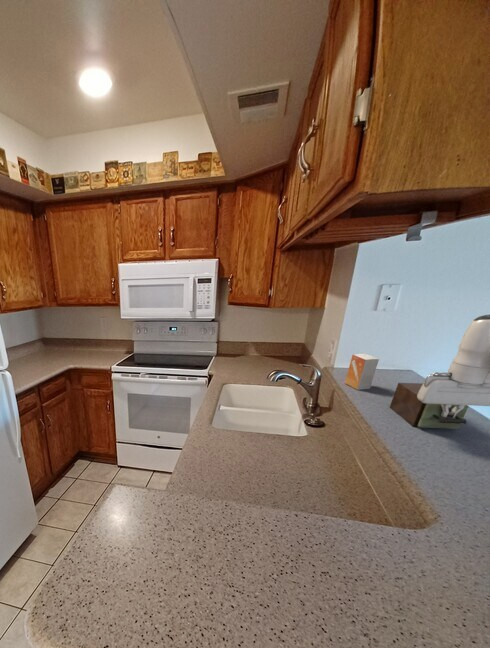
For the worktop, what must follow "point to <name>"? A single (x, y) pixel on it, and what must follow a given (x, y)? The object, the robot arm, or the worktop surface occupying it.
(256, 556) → the worktop surface
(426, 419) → the drawer
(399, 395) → the cabinet
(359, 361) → the small box
